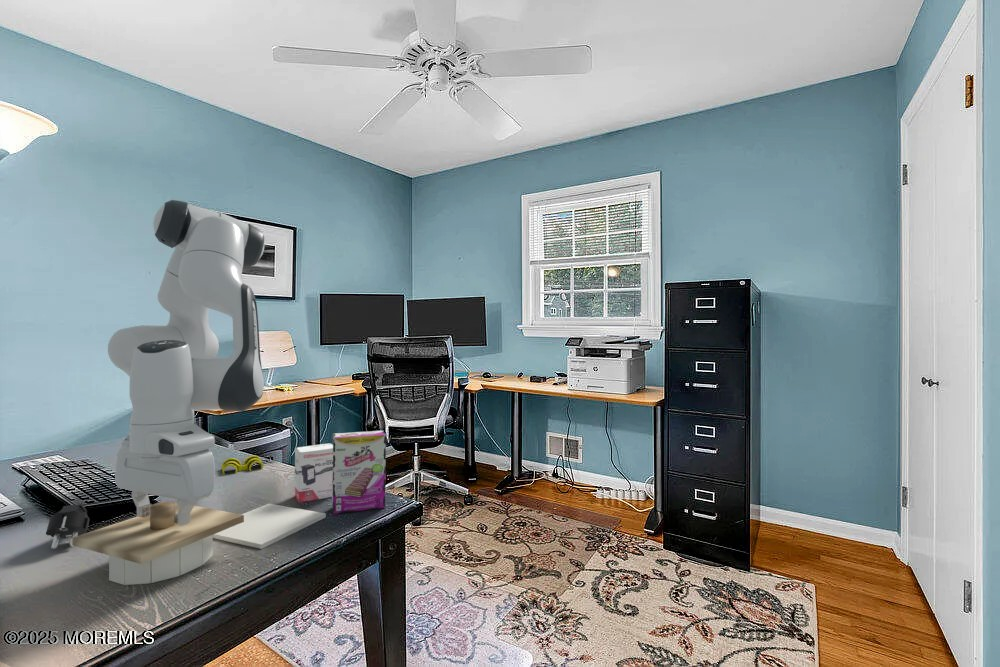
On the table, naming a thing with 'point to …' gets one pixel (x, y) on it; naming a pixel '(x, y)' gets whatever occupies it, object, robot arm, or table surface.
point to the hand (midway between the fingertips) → (163, 520)
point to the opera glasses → (246, 464)
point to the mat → (268, 525)
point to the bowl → (161, 564)
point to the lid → (156, 532)
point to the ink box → (313, 472)
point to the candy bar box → (358, 471)
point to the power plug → (68, 523)
